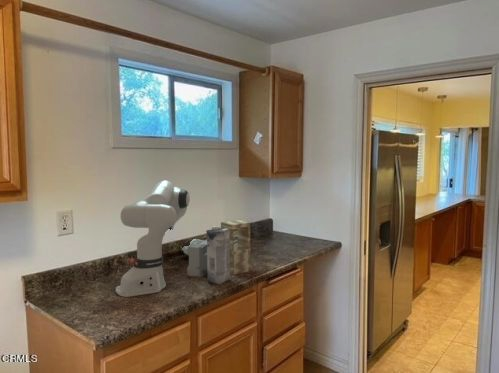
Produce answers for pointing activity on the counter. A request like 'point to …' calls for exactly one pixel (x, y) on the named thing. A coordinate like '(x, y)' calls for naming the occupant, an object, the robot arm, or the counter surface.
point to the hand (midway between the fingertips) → (205, 250)
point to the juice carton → (218, 255)
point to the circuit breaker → (197, 260)
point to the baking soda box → (235, 239)
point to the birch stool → (239, 246)
